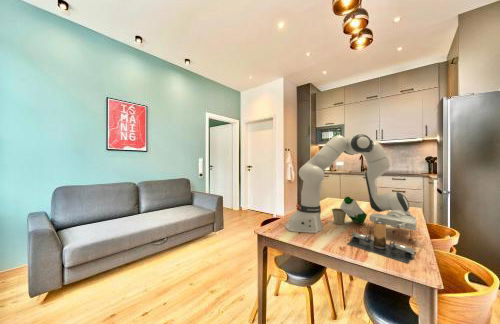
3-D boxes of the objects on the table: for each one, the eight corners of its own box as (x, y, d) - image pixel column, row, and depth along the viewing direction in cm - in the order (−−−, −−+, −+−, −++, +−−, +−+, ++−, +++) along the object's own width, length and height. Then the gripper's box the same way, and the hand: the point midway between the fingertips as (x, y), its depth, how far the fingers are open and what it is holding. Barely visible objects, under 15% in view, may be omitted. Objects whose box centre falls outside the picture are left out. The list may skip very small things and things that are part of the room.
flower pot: (344, 221, 135) (344, 208, 135) (349, 225, 125) (349, 212, 125) (329, 220, 136) (329, 208, 136) (334, 225, 127) (334, 211, 126)
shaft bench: (346, 244, 98) (346, 234, 98) (357, 236, 107) (357, 227, 107) (409, 264, 79) (409, 252, 78) (417, 253, 87) (417, 242, 87)
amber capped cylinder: (377, 250, 90) (377, 223, 90) (370, 244, 95) (370, 220, 95) (389, 249, 90) (389, 223, 90) (381, 244, 95) (381, 220, 95)
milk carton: (368, 214, 129) (355, 197, 121) (364, 226, 126) (349, 209, 118) (355, 211, 136) (342, 195, 128) (351, 222, 133) (336, 206, 125)
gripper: (374, 209, 116) (365, 214, 107) (419, 217, 100) (412, 222, 92) (374, 220, 116) (365, 225, 107) (419, 229, 101) (412, 236, 92)
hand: (387, 224), depth 99 cm, fingers open, 8 cm apart
